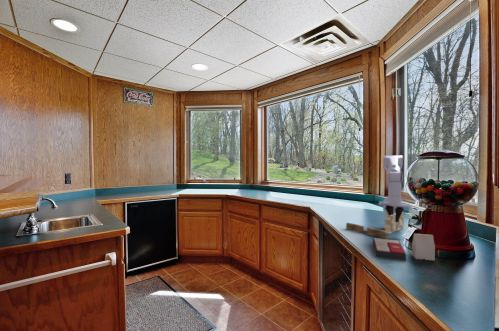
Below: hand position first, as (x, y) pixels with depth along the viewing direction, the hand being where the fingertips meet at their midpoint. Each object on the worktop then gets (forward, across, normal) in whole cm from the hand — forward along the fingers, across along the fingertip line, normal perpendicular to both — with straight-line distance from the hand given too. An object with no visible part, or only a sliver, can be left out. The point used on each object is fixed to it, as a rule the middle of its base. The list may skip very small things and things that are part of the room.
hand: (394, 221), depth 119 cm
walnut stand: (+10, -15, 0) cm, 18 cm away
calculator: (+10, +4, -19) cm, 22 cm away
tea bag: (+10, +16, -14) cm, 24 cm away
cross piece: (+5, 0, 0) cm, 5 cm away
